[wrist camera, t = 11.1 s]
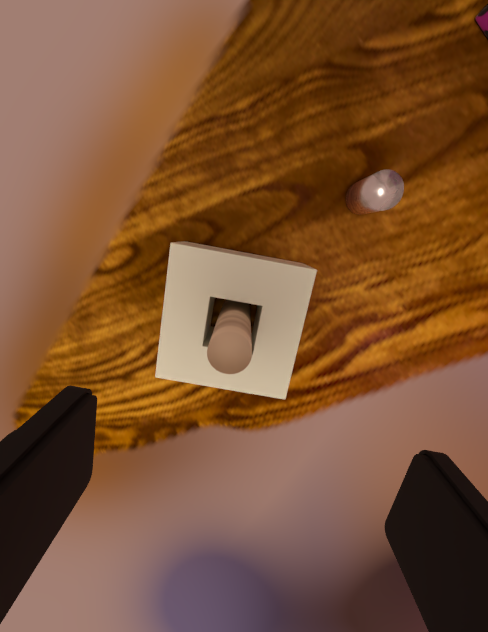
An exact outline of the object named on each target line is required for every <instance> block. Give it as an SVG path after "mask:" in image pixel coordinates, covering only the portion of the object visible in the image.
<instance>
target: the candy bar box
mask: <svg viewBox="0 0 488 632" xmlns="http://www.w3.org/2000/svg"><path fill="white" fill-rule="evenodd" d="M475 19H476V21H477V23H478V25H479V26H480V28H481V29H482V31H483V32H484V34H485V35H486V37H487V38H488V4H487V5H486V6H485V7H484V8H483V9H482V10H481V11H480V12H479V14H478V15H477V16H476V18H475Z"/></svg>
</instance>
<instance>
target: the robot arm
mask: <svg viewBox="0 0 488 632" xmlns="http://www.w3.org/2000/svg"><path fill="white" fill-rule="evenodd" d="M96 409H97V397H96V396H95V395H92V392H91V390H90V389H86V388H81V387H75V386H67V387H66V388H64V389H63V390H62V391H61V392H60V393H59V394H58V395H56V396H55V397H54V398H53V399H52V400H51V401H49V402H48V403H47V404H46V405H45V406H44V407H43V408H41V409H40V410H39V411H38V412H37V413H36V414H34V415H33V416H32V417H31V418H30V419H29V420H28V421H26V422H25V423H24V424H23V425H22V426H21V427H19V428H18V429H17V430H14V431H13V432H12V433H10V434H9V435H7V436H6V437H5V438H4V439H3V440H2V441H1V442H0V624H1V622H2V620H3V619H4V617H5V616H6V614H7V613H8V611H9V609H10V608H11V606H12V605H13V603H14V601H15V600H16V598H17V597H18V595H19V593H20V592H21V590H22V589H23V587H24V585H25V584H26V582H27V581H28V579H29V578H30V576H31V574H32V573H33V571H34V569H35V568H36V566H37V565H38V563H39V562H40V560H41V558H42V557H43V555H44V554H45V552H46V550H47V549H48V547H49V546H50V544H51V543H52V541H53V539H54V538H55V536H56V535H57V533H58V532H59V530H60V528H61V527H62V525H63V524H64V522H65V520H66V519H67V517H68V516H69V514H70V512H71V511H72V509H73V508H74V506H75V504H76V503H77V501H78V500H79V498H80V496H81V495H82V493H83V492H84V490H85V489H86V487H87V485H88V483H89V481H90V478H91V475H92V468H93V453H94V438H95V424H96ZM385 533H386V536H387V539H388V541H389V543H390V546H391V548H392V550H393V552H394V555H395V557H396V559H397V561H398V563H399V566H400V568H401V570H402V573H403V574H404V577H405V579H406V582H407V584H408V586H409V588H410V590H411V593H412V595H413V597H414V599H415V602H416V604H417V606H418V608H419V611H420V612H421V615H422V617H423V620H424V622H425V624H426V626H427V629H428V631H429V632H488V501H487V500H486V499H485V498H484V497H483V496H482V495H481V493H480V492H479V491H478V490H477V489H476V488H475V486H474V485H473V484H472V483H471V482H470V481H469V480H468V479H467V477H466V476H465V475H464V474H463V473H462V472H461V470H460V469H459V468H458V467H457V466H456V465H455V464H454V462H453V461H452V460H451V459H450V458H449V457H448V456H447V455H446V454H443V453H438V452H433V451H428V450H422V451H421V452H420V453H419V454H416V455H415V456H414V457H413V459H412V462H411V464H410V466H409V468H408V471H407V473H406V475H405V478H404V480H403V482H402V485H401V487H400V489H399V491H398V494H397V496H396V499H395V501H394V503H393V505H392V508H391V510H390V512H389V515H388V517H387V519H386V522H385Z"/></svg>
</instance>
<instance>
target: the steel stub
mask: <svg viewBox="0 0 488 632" xmlns="http://www.w3.org/2000/svg"><path fill="white" fill-rule="evenodd" d="M403 191H404V184H403V180H402V178H401V176H400V175H399V174H398V173H396V172H395V171H392V170H381V171H379V172H377V173H375V174H373V175H371V176H369V177H367V178H365V179H363V180H360V181H358V182H356V183H355V184H353V185H352V186H351V187H350V188H349V190H348V192H347V194H346V205H347V207H348V209H349V210H350V211H351V212H353V213H355V214H359V215H361V214H367V213H372V212H378V211H383V210H388V209H390V208H392V207H394V206H395V205H396V204H397V203H398V202H399V201H400V199H401V197H402V195H403Z"/></svg>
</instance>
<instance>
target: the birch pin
mask: <svg viewBox="0 0 488 632" xmlns="http://www.w3.org/2000/svg"><path fill="white" fill-rule="evenodd" d="M207 357H208V360H209V362H210V364H211V366H212V367H213V368H214V369H216V370H217V371H219V372H221V373H224V374H236V373H239V372H241V371H243V370H244V369H245V368H246V367H247V366H248V365H249V363H250V361H251V358H252V341H251V318H250V306H249V303H244V302H238V301H233V300H227V299H226V300H225V301H224V303H223V305H222V308H221V311H220V314H219V316H218V319H217V322H216V325H215V328H214V331H213V334H212V337H211V339H210V342H209V345H208V349H207Z"/></svg>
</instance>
